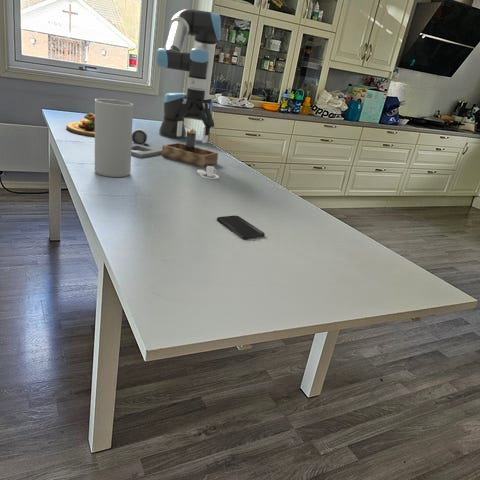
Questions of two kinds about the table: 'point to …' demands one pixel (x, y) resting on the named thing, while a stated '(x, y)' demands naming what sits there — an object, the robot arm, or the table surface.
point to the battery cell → (190, 140)
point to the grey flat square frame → (147, 151)
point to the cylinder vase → (113, 137)
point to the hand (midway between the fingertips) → (191, 139)
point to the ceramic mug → (139, 137)
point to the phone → (240, 227)
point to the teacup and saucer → (208, 172)
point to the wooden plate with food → (84, 126)
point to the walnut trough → (190, 155)
